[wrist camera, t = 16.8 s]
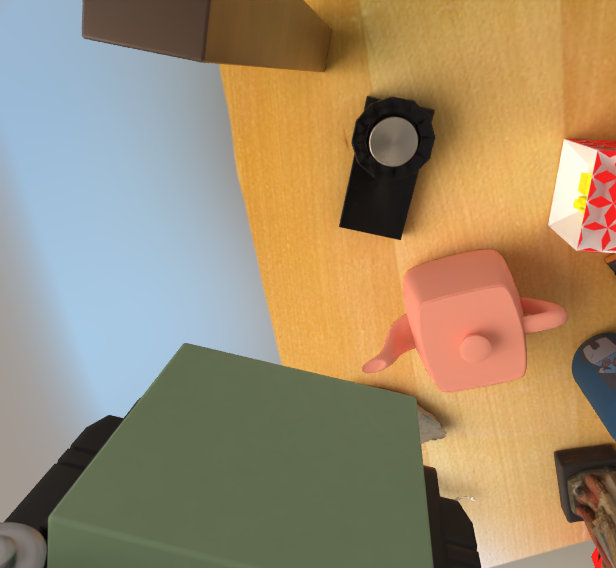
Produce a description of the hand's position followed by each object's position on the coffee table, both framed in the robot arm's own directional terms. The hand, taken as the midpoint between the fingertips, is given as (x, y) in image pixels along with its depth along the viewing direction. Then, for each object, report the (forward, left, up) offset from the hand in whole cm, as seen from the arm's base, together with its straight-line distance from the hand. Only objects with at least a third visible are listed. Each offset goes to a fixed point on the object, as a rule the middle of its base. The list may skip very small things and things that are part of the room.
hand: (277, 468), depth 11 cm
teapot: (+12, +12, -43) cm, 47 cm away
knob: (-3, +3, -40) cm, 40 cm away
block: (0, 0, 0) cm, 0 cm away
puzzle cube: (-2, +22, -43) cm, 48 cm away
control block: (0, +3, -43) cm, 43 cm away
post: (-9, -6, -43) cm, 44 cm away
